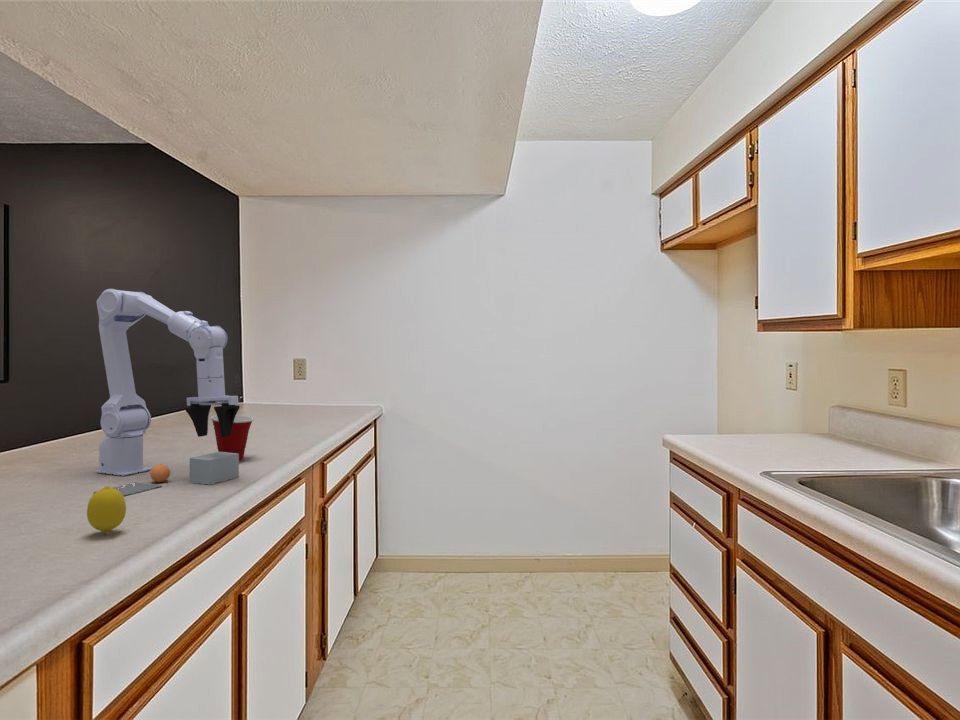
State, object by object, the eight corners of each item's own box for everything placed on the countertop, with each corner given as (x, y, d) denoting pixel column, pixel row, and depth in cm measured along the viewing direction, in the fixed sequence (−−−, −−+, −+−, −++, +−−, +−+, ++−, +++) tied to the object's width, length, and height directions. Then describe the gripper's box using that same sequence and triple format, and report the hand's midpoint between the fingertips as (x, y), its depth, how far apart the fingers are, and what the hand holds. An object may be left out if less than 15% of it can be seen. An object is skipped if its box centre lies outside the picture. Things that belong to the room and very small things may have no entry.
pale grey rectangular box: (189, 482, 137) (189, 458, 137) (219, 474, 145) (220, 451, 145) (208, 485, 135) (209, 460, 134) (238, 477, 143) (238, 453, 143)
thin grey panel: (93, 493, 126) (93, 492, 126) (135, 483, 135) (135, 482, 135) (120, 497, 123) (120, 496, 123) (161, 486, 132) (161, 485, 132)
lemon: (98, 528, 103) (98, 482, 103) (132, 528, 103) (132, 482, 103) (79, 539, 97) (79, 490, 97) (115, 538, 98) (115, 490, 98)
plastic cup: (238, 465, 156) (238, 419, 156) (201, 463, 158) (201, 417, 158) (261, 457, 167) (261, 414, 166) (226, 455, 169) (227, 413, 168)
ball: (146, 483, 136) (146, 465, 135) (161, 479, 139) (161, 462, 139) (159, 484, 134) (159, 467, 134) (174, 481, 138) (174, 463, 138)
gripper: (247, 375, 140) (250, 434, 140) (203, 377, 146) (206, 433, 146) (222, 377, 133) (226, 438, 134) (177, 379, 140) (181, 437, 140)
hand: (214, 436), depth 139 cm, fingers open, 7 cm apart
